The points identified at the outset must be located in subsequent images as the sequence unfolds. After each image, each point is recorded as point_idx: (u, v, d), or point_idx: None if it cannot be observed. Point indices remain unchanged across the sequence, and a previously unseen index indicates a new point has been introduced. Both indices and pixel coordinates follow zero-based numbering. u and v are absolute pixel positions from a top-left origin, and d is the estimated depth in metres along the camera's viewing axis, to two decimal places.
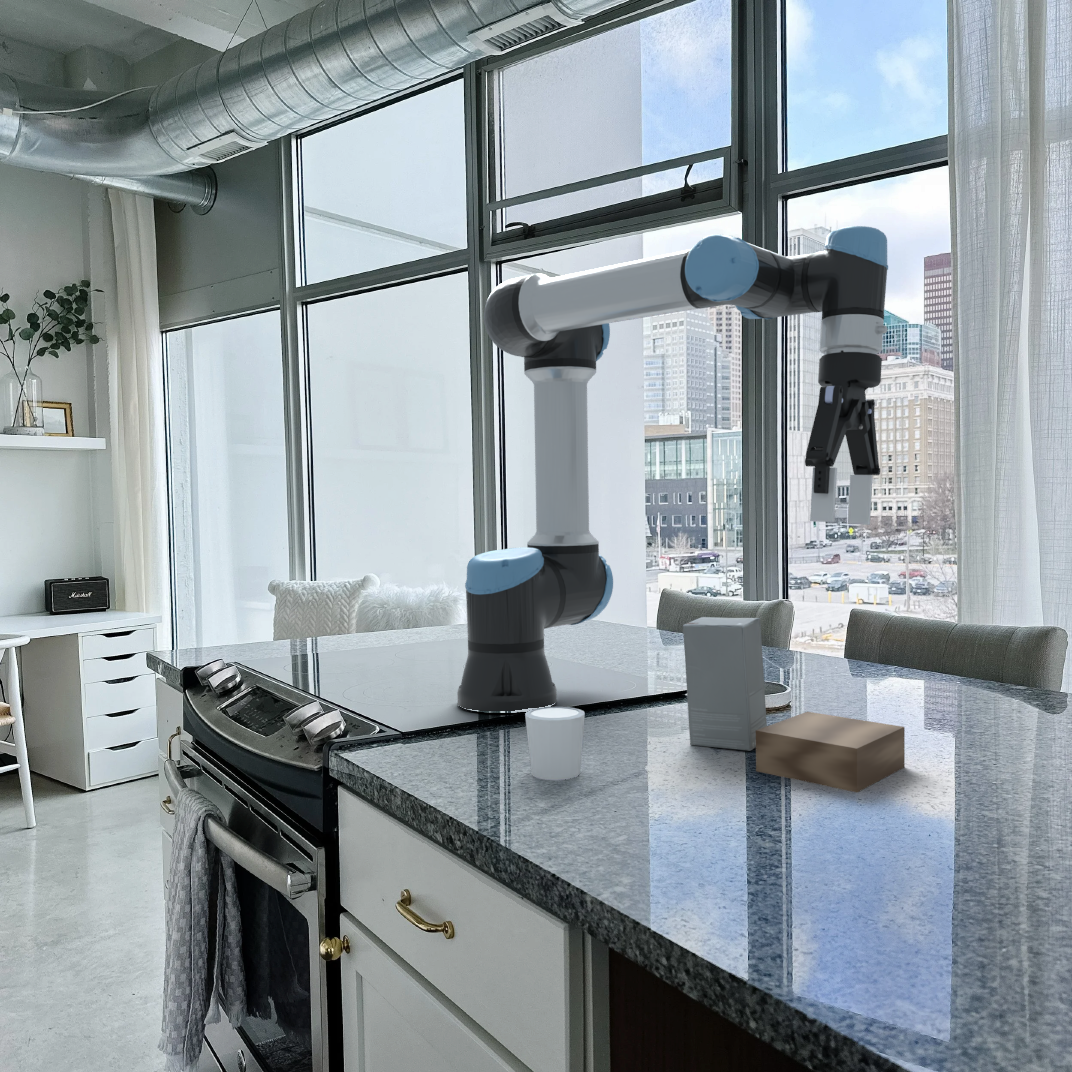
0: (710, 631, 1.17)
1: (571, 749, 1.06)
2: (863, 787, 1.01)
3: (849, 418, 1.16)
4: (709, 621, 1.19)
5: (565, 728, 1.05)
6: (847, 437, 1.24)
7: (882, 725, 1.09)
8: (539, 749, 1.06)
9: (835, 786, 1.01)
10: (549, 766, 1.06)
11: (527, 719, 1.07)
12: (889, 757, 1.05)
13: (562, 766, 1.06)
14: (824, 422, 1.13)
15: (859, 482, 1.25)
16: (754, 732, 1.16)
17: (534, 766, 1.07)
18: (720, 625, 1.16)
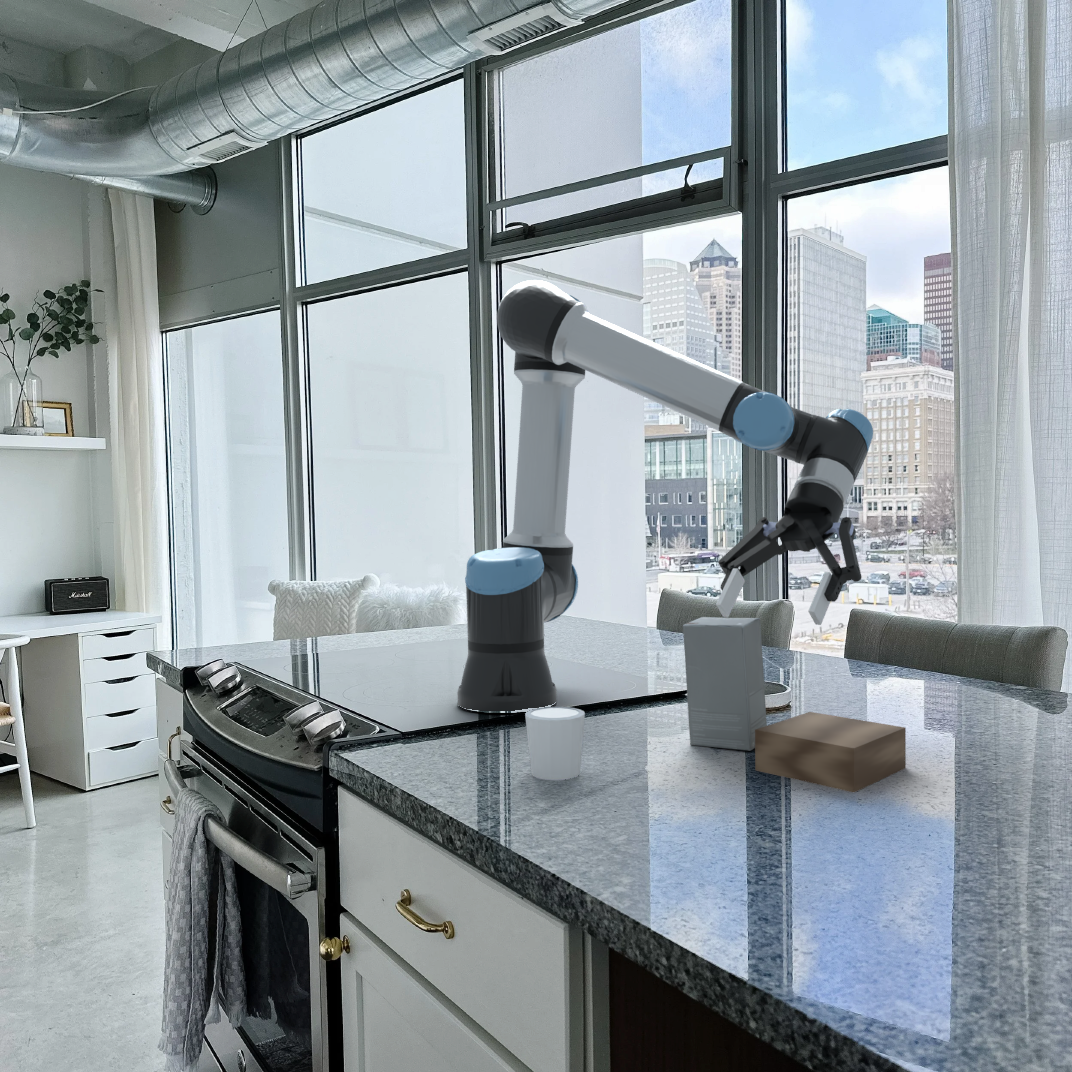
0: (710, 631, 1.17)
1: (571, 749, 1.06)
2: (861, 787, 1.01)
3: None
4: (709, 621, 1.19)
5: (565, 728, 1.05)
6: (768, 545, 1.33)
7: (883, 725, 1.09)
8: (539, 749, 1.06)
9: (832, 786, 1.01)
10: (549, 766, 1.06)
11: (527, 719, 1.07)
12: (889, 757, 1.05)
13: (562, 766, 1.06)
14: (853, 549, 1.25)
15: (738, 579, 1.32)
16: (754, 732, 1.16)
17: (534, 766, 1.07)
18: (720, 625, 1.16)
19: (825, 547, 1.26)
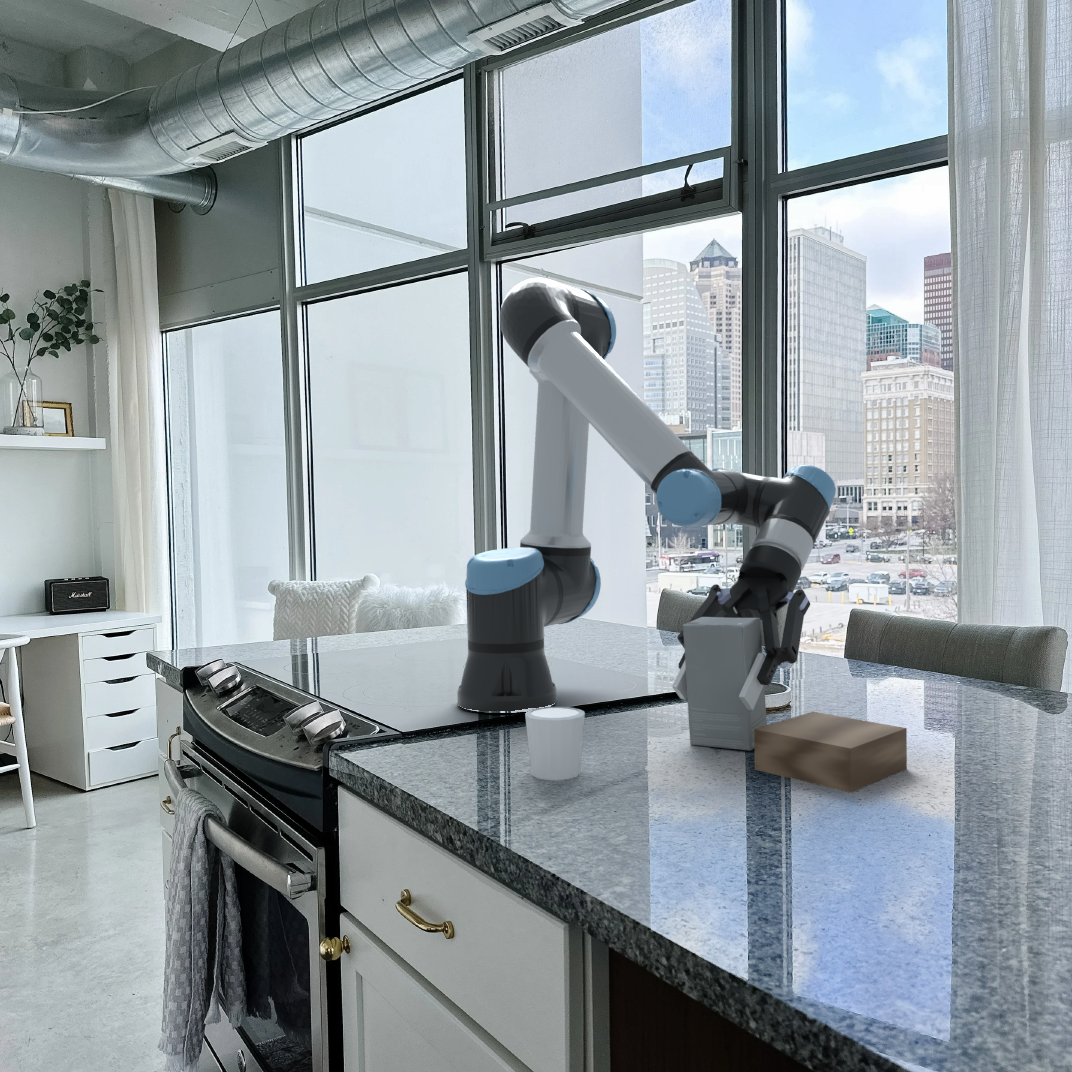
0: (710, 631, 1.17)
1: (571, 749, 1.06)
2: (858, 787, 1.01)
3: (777, 622, 1.22)
4: (709, 621, 1.19)
5: (565, 728, 1.05)
6: (726, 615, 1.24)
7: (884, 726, 1.08)
8: (539, 749, 1.06)
9: (830, 786, 1.01)
10: (550, 766, 1.06)
11: (527, 719, 1.07)
12: (888, 758, 1.05)
13: (562, 766, 1.06)
14: (798, 627, 1.18)
15: None
16: None
17: (534, 766, 1.07)
18: (720, 625, 1.16)
19: (769, 621, 1.19)
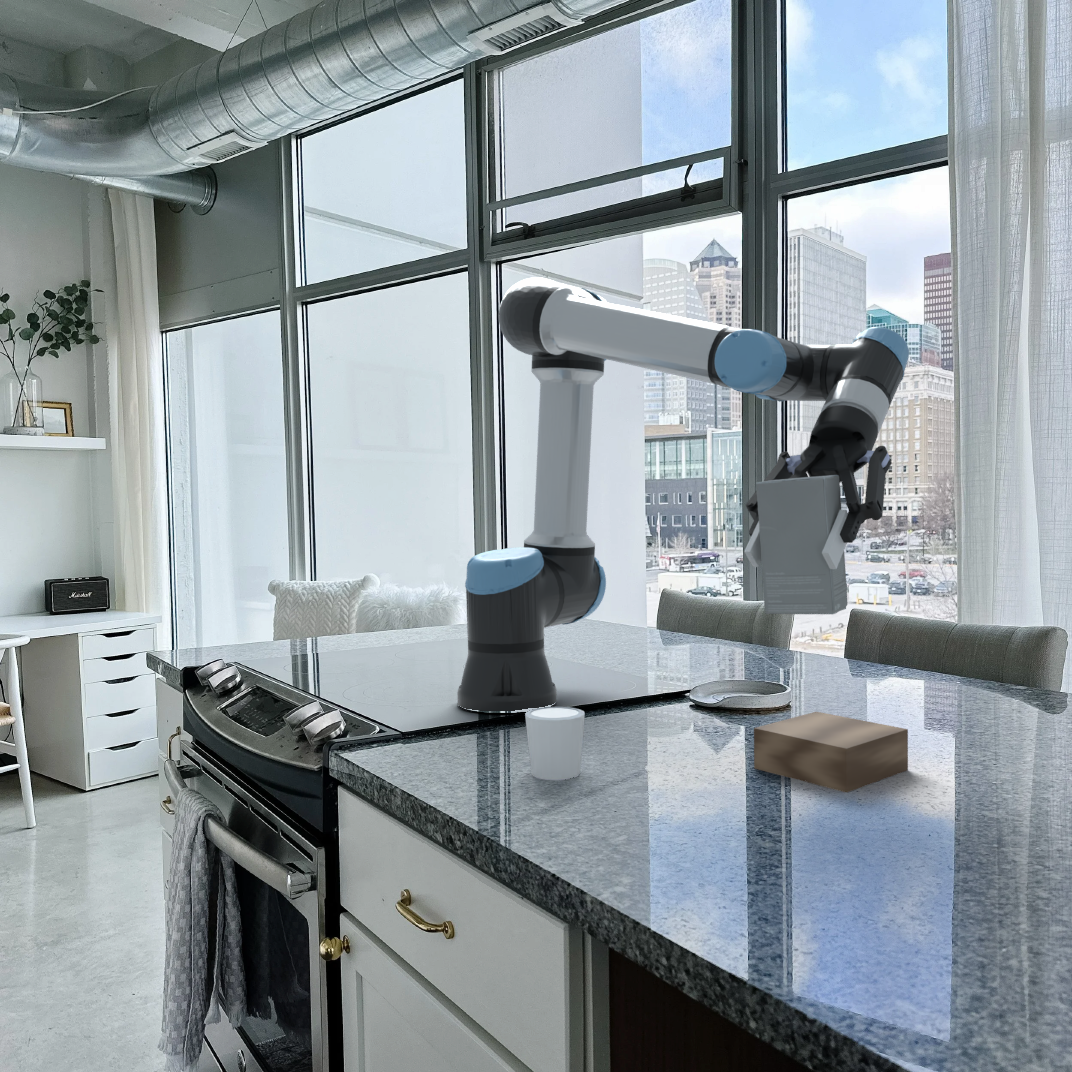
0: (787, 486, 1.07)
1: (571, 749, 1.06)
2: (854, 787, 1.01)
3: (856, 484, 1.13)
4: (784, 479, 1.10)
5: (565, 728, 1.05)
6: None
7: (885, 727, 1.08)
8: (539, 749, 1.06)
9: (826, 785, 1.01)
10: (549, 766, 1.06)
11: (527, 719, 1.07)
12: (887, 759, 1.04)
13: (562, 766, 1.06)
14: (881, 483, 1.09)
15: None
16: (836, 595, 1.07)
17: (534, 766, 1.07)
18: (798, 479, 1.07)
19: (848, 479, 1.10)
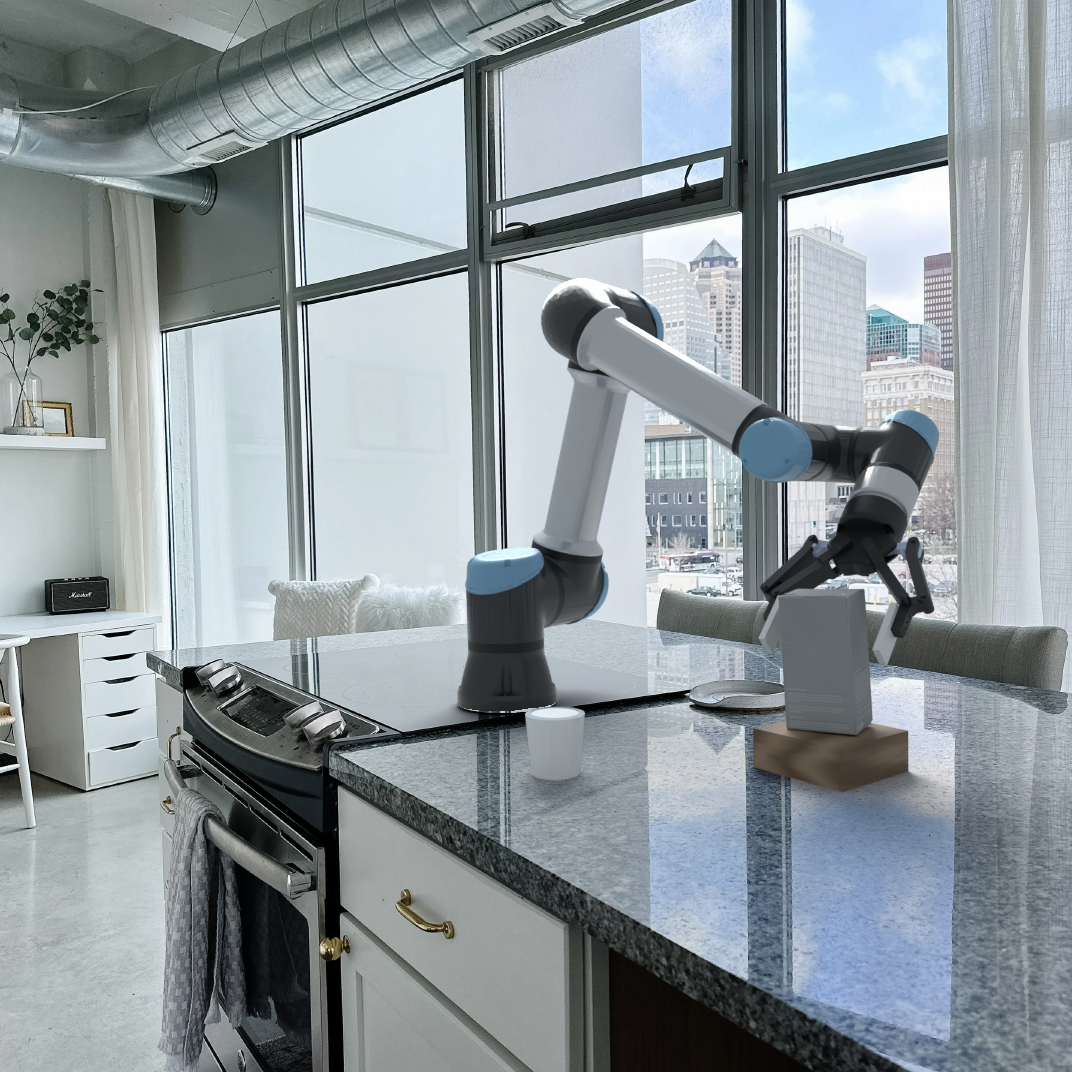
0: (810, 602, 1.05)
1: (571, 749, 1.06)
2: (850, 788, 1.01)
3: None
4: (807, 592, 1.08)
5: (565, 728, 1.05)
6: (820, 568, 1.13)
7: (886, 728, 1.08)
8: (539, 749, 1.06)
9: (822, 786, 1.02)
10: (550, 766, 1.06)
11: (527, 719, 1.07)
12: (886, 760, 1.04)
13: (562, 766, 1.06)
14: (923, 575, 1.06)
15: None
16: (859, 715, 1.05)
17: (534, 766, 1.07)
18: (821, 596, 1.05)
19: (889, 572, 1.07)
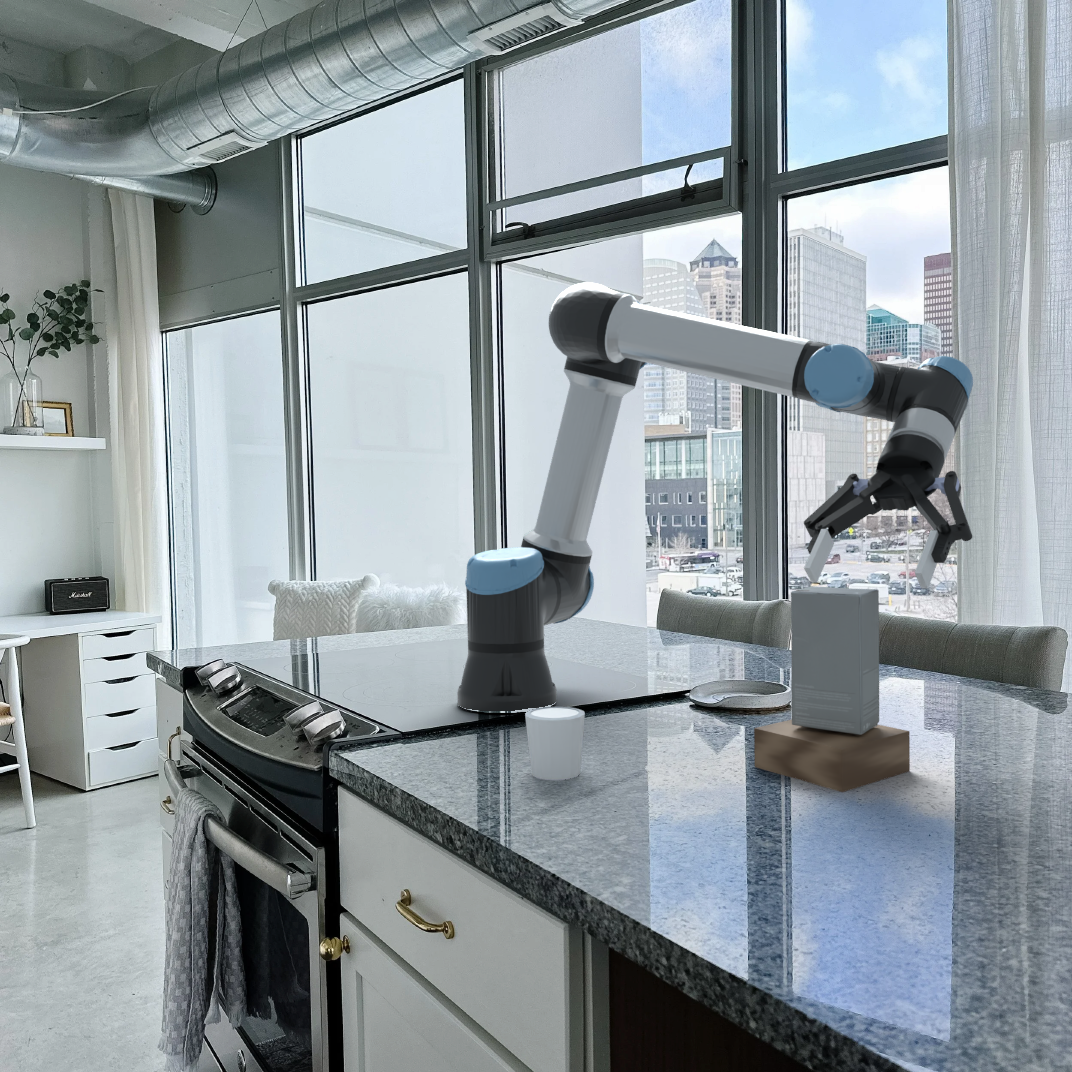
0: (822, 599, 1.05)
1: (571, 749, 1.06)
2: (851, 788, 1.01)
3: None
4: (821, 589, 1.08)
5: (565, 728, 1.05)
6: (861, 503, 1.19)
7: (887, 728, 1.08)
8: (539, 749, 1.06)
9: (823, 786, 1.02)
10: (550, 766, 1.06)
11: (527, 719, 1.07)
12: (887, 760, 1.04)
13: (562, 766, 1.06)
14: None
15: (827, 541, 1.19)
16: (866, 715, 1.04)
17: (534, 766, 1.07)
18: (834, 593, 1.04)
19: (928, 503, 1.13)
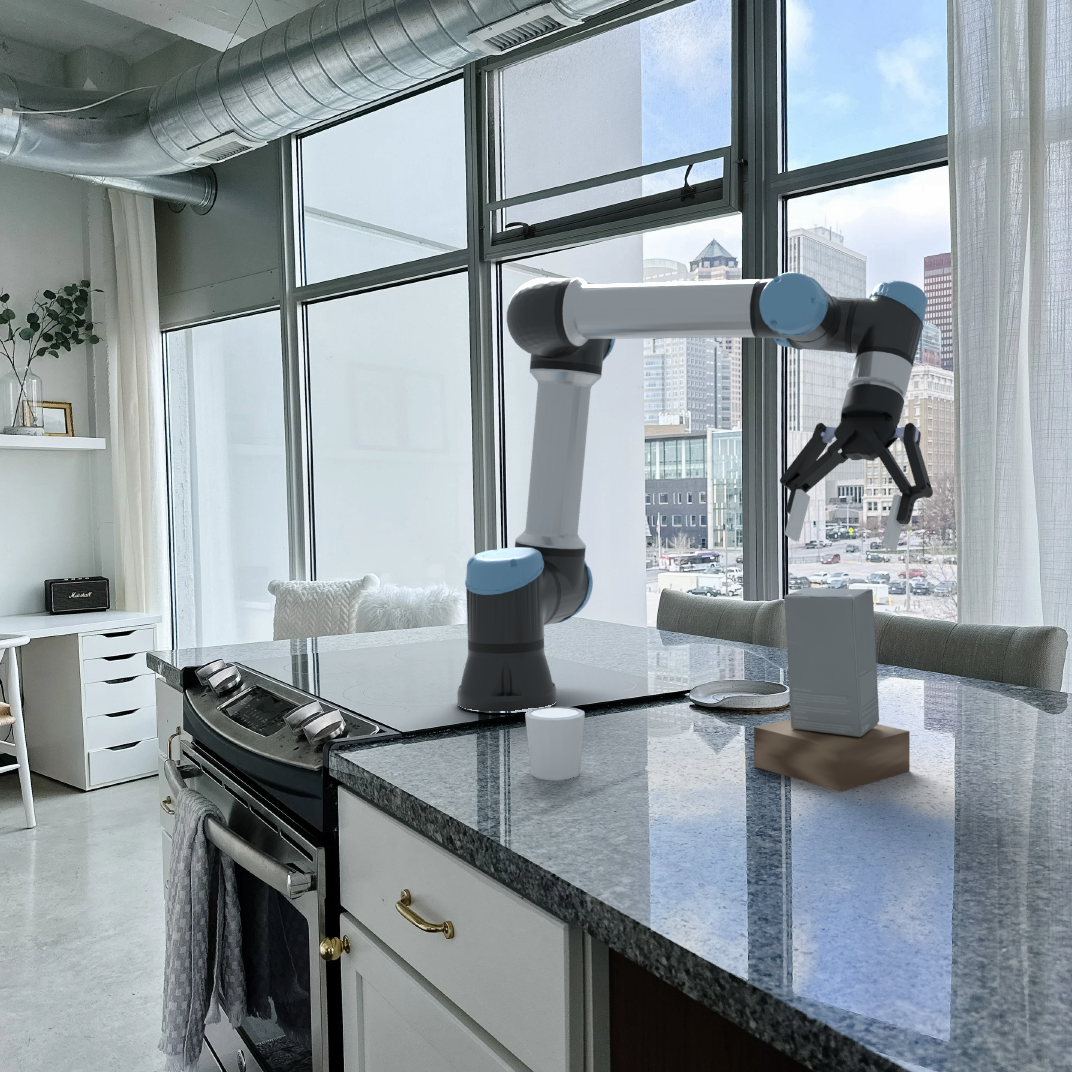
0: (816, 603, 1.04)
1: (571, 749, 1.06)
2: (850, 788, 1.01)
3: (893, 457, 1.25)
4: (814, 592, 1.07)
5: (565, 728, 1.05)
6: (830, 459, 1.28)
7: (887, 728, 1.08)
8: (539, 749, 1.06)
9: (822, 785, 1.02)
10: (550, 766, 1.06)
11: (527, 719, 1.07)
12: (887, 760, 1.04)
13: (562, 766, 1.06)
14: (921, 460, 1.20)
15: (803, 499, 1.29)
16: (864, 716, 1.04)
17: (534, 766, 1.07)
18: (827, 596, 1.04)
19: (890, 462, 1.21)
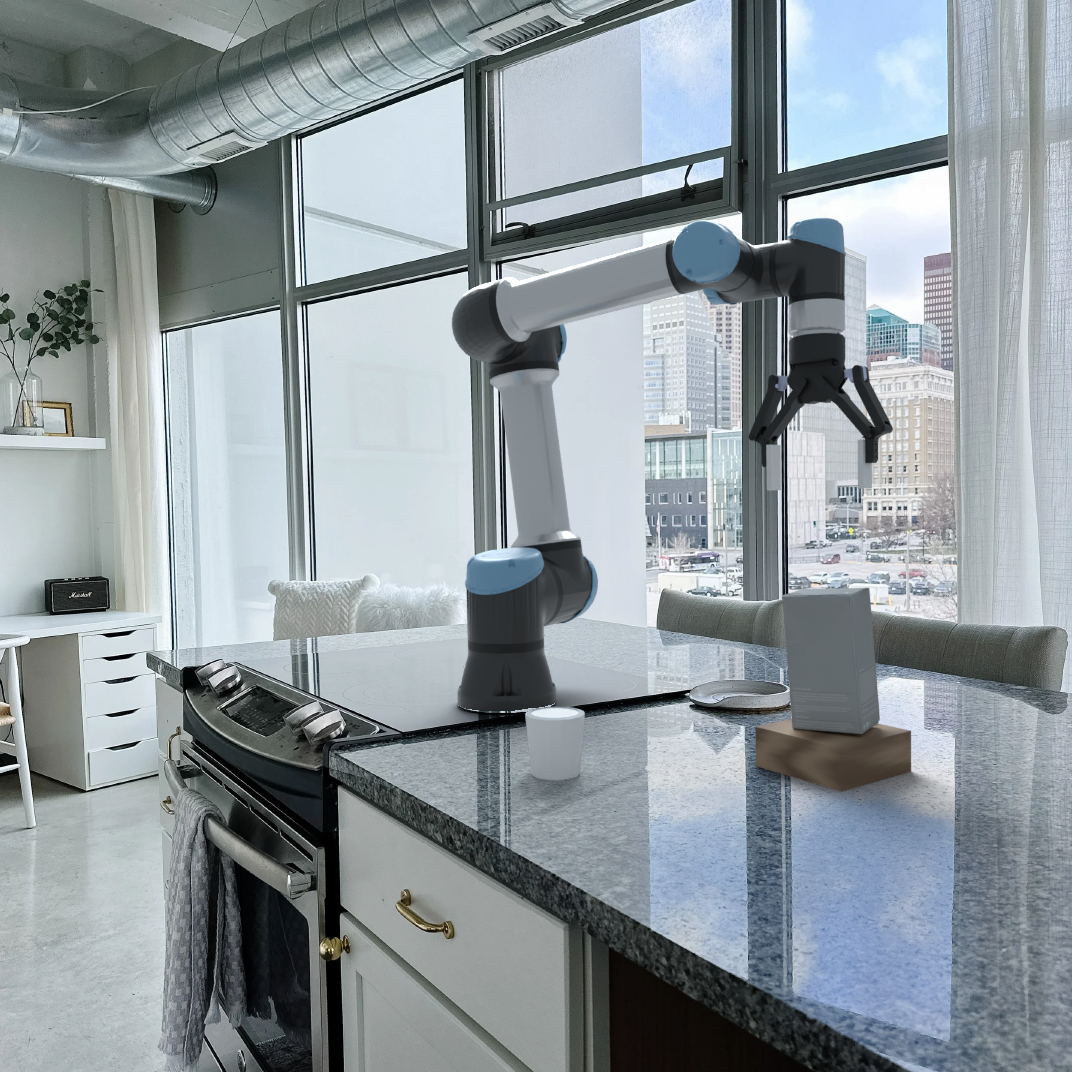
0: (813, 601, 1.05)
1: (571, 749, 1.06)
2: (850, 787, 1.01)
3: (848, 395, 1.30)
4: (811, 591, 1.08)
5: (565, 728, 1.05)
6: (790, 410, 1.34)
7: (889, 728, 1.08)
8: (539, 749, 1.06)
9: (823, 785, 1.02)
10: (550, 766, 1.06)
11: (527, 719, 1.07)
12: (888, 760, 1.04)
13: (562, 766, 1.06)
14: (875, 399, 1.26)
15: (775, 451, 1.36)
16: (865, 714, 1.04)
17: (534, 766, 1.07)
18: (824, 594, 1.05)
19: (847, 407, 1.28)
